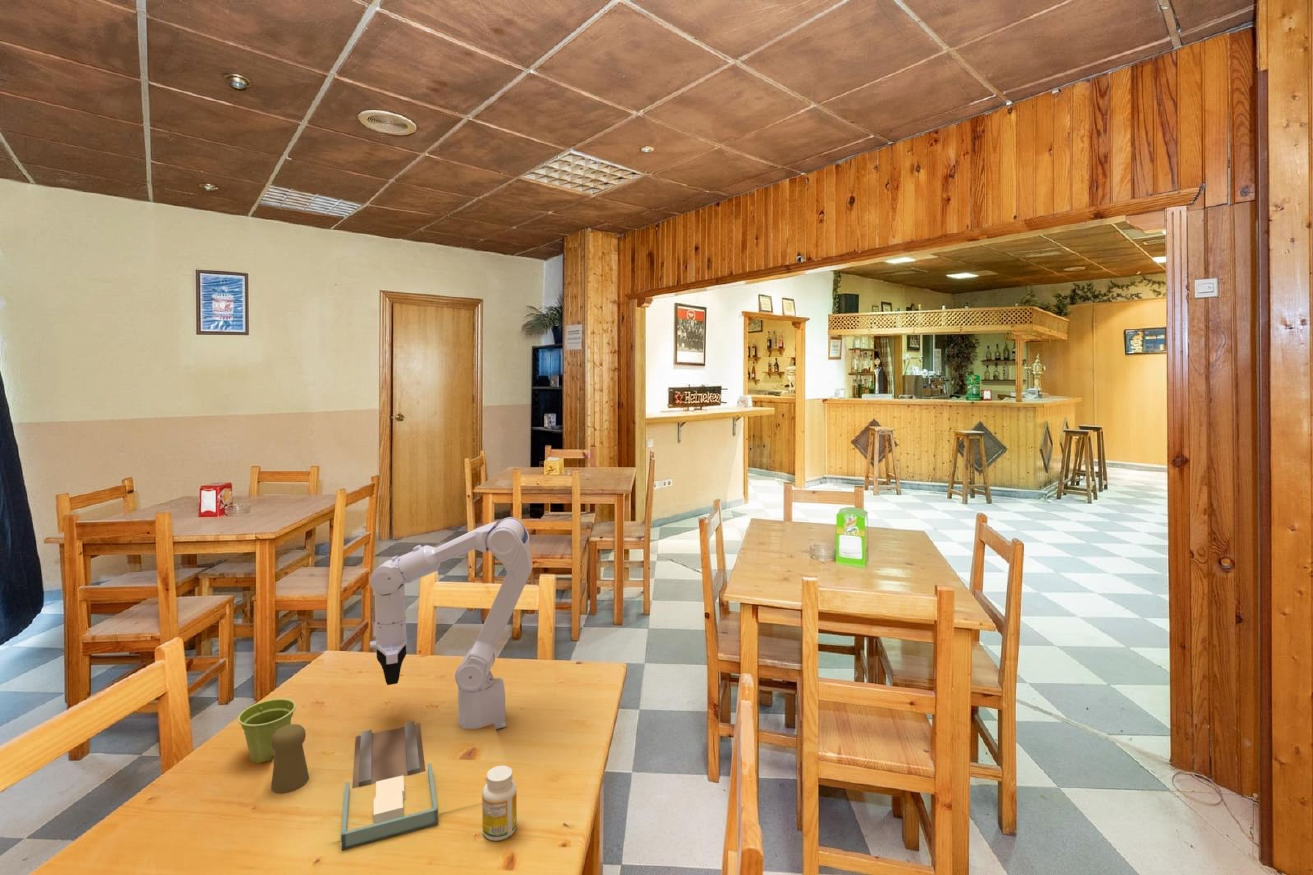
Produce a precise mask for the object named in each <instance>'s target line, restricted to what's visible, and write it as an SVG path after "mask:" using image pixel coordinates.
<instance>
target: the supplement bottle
mask: <svg viewBox="0 0 1313 875" xmlns="http://www.w3.org/2000/svg"><path fill="white" fill-rule="evenodd" d="M513 779H514V778H513V769H512V768H511V767H509V766H507V765H497V766H494V767H492V768H490V769H489V770H488V771H487V773H486V784H485V785H484V786H483V788H482V792H481V796H482V798H481V799H482V803H481V804H482V808H481V809H482V834H483V836H484V837H485V838H486V839H488V840H489V841H499V842H500V841H503V840H506V839H508V838H509V837H511V836H512V835H513V834H514V832H515V831H516V830H517V819H518V818H517V816H518V815H517V805H518V804H517V800H518V799H517V795H518V794H517V792H518V791H517V788H518V787H517V785H516V782H515V781H514V780H513Z"/></svg>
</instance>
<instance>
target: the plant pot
mask: <svg viewBox="0 0 1313 875" xmlns="http://www.w3.org/2000/svg"><path fill="white" fill-rule="evenodd" d="M296 709H297V703H296V701H294V700H292V699H289V698H274V699H272V698H271V699H268V700H263V701H260V702H258V703H255V704H253V705H251V706H249V707H247V708H245V709H244V710H243V711H241V712H240V714H239V715H237V716H238V717H237V721H238V722H237V723H238V724H240V725H241V728H242V730H243V731H244V735H245V741H246V745H247V750H248V755H249V760H250V761H251V762H253V763H257V764H261V763H262V762H272V761H273V757H275V750H274V749H273V748H272V746H271V739H272V736H273V734H274V733H275V731H277V730H278V729H279V728H281V727H283V726H286V725H290V724H292V717H293V716H294V712H295V710H296Z"/></svg>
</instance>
